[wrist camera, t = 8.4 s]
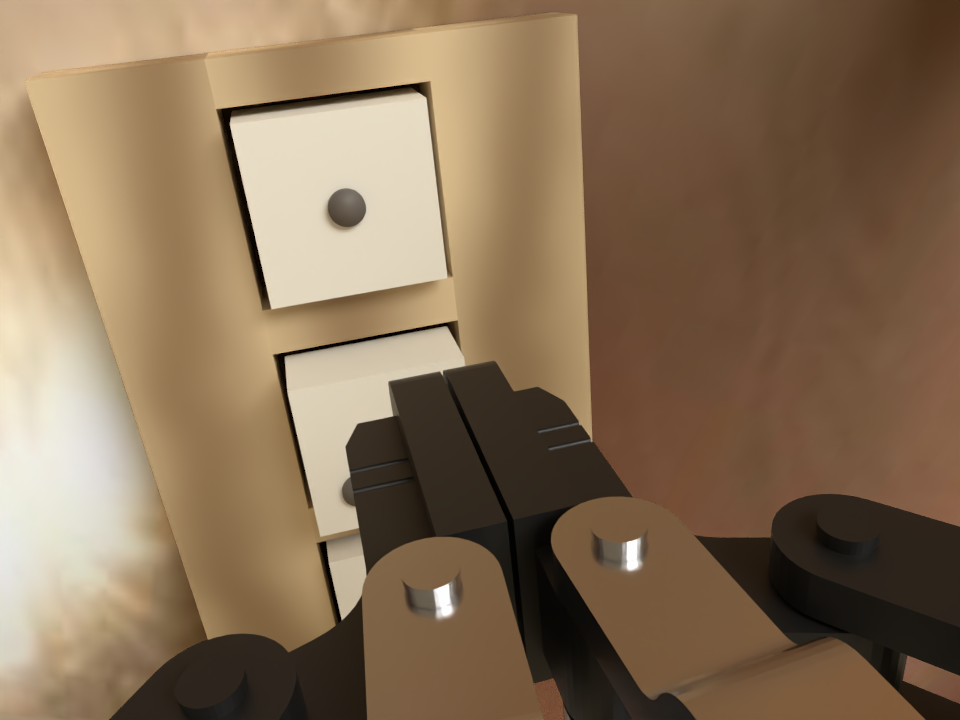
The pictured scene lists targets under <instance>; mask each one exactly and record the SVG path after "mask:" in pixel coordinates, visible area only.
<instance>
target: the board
mask: <svg viewBox="0 0 960 720" xmlns="http://www.w3.org/2000/svg"><path fill="white" fill-rule="evenodd" d="M24 83H25V86H26V90H27V93H28V96H29V99H30V102H31V105H32V108H33V111H34V114H35V117H36V120H37V123H38V126H39V129H40V132H41V135H42V138H43V141H44V144H45V147H46V150H47V153H48V156H49V159H50V162H51V165H52V168H53V171H54V174H55V177H56V180H57V184H58V187H59V190H60V193H61V196H62V199H63V202H64V205H65V208H66V211H67V214H68V217H69V220H70V223H71V226H72V229H73V232H74V235H75V238H76V241H77V244H78V247H79V250H80V253H81V256H82V259H83V262H84V265H85V268H86V271H87V274H88V278H89V281H90V284H91V287H92V290H93V293H94V296H95V299H96V302H97V305H98V308H99V311H100V314H101V317H102V320H103V323H104V326H105V329H106V332H107V335H108V338H109V341H110V344H111V347H112V350H113V353H114V356H115V359H116V362H117V365H118V368H119V372H120V375H121V378H122V381H123V384H124V387H125V390H126V393H127V396H128V399H129V402H130V405H131V408H132V411H133V414H134V417H135V420H136V423H137V426H138V429H139V432H140V435H141V438H142V441H143V444H144V447H145V450H146V453H147V456H148V459H149V463H150V466H151V469H152V472H153V475H154V478H155V481H156V484H157V487H158V490H159V493H160V496H161V499H162V502H163V505H164V508H165V511H166V514H167V517H168V520H169V523H170V526H171V529H172V532H173V535H174V538H175V541H176V544H177V547H178V550H179V553H180V557H181V560H182V563H183V566H184V569H185V572H186V575H187V578H188V581H189V584H190V587H191V590H192V593H193V596H194V599H195V602H196V605H197V608H198V611H199V614H200V617H201V620H202V623H203V626H204V629H205V632H206V635H207V638H208V640H209V639H212V638H215V637H219V636H224V635H229V634H241V633H244V634H256V635H261V636H265V637H268V638H270V639H272V640H275V641H276V642H278V643H279V644H281V645H282V646H283V647H284V648H285V649H286V650H287V651H288V652H290V651H292V650H294V649H296V648H298V647H300V646H302V645H304V644H306V643H308V642H310V641H312V640H314V639H315V638H317V637H319V636H321V635H322V634H324V633H326V632H327V631H329V630H330V629H332V628H333V627H334V626H336V625H337V624H338V623H339V622H338V618H337V613H336V609H335V604H334V600H333V596H332V591H331V587H330V583H329V578H328V574H327V569H326V565H325V561H324V556H323V552H322V548H321V543H320V542H323V541H327V540H331V539H336V538H340V537H344V536H349V535H353V534H358V533H360V531H359V528H357V529H352V530H348V531H344V532H339V533H335V534H331V535H326V536H322V537H320V533H319V529H318V524H317V520H316V516H315V511H314V507H313V502H312V498H311V494H310V489H309V485H308V480H307V476H305V473H304V469H303V465H302V460H301V456H300V451H299V447H298V443H297V438H296V434H295V430H294V425H293V421H292V416H291V412H290V408H289V403H288V399H287V395H286V390H285V386H284V381H283V377H282V373H281V368H280V364H279V360H278V355H277V354H279V353H285V352H290V351H295V350H301V349H306V348H311V347H317V346H322V345H327V344H333V343H338V342H344V341H349V340H354V339H360V338H365V337H370V336H376V335H381V334H386V333H392V332H397V331H402V330H408V329H413V328H419V327H424V326H429V325H435V324H440V323H445V322H447V323H448V329H449V331H450V333H451V335H452V336H453V338H454V340H455V342H456V344H457V346H458V347H459V349H460V351H461V353H462V355H463V356H464V360H465V366H468V365H473V364H478V363H483V362H488V361H495V362H496V363H497V364H498V366H499V368H500V369H501V371H502V373H503V374H504V376H505V378H506V379H507V381H508V383H509V384H510V386H511V388H512V389H513V391H519V390H524V389H529V388H534V387H540V388H542V389H543V390H545V391H547V392H549V393H551V394H553V395H555V396H556V397H558V398H560V399H562V400H564V401H565V402H566V404H567V405H568V407H569V408H570V409H571V411H572V412H573V414H574V415H575V416H576V418H577V419H578V421H579V425H582V426H583V428H584V429H585V431H586V432H587V433H588V435H589V436H590V438H591V442H592V419H591V391H590V363H589V335H588V307H587V279H586V251H585V223H584V195H583V167H582V139H581V111H580V83H579V55H578V27H577V15H574V14H565V13H556V12H550V13H542V14H534V15H525V16H517V17H508V18H500V19H491V20H483V21H474V22H466V23H458V24H449V25H441V26H432V27H424V28H415V29H407V30H398V31H390V32H382V33H373V34H365V35H356V36H348V37H339V38H331V39H323V40H314V41H306V42H297V43H289V44H280V45H272V46H263V47H255V48H247V49H238V50H230V51H221V52H213V53H204V54H196V55H188V56H179V57H171V58H162V59H154V60H145V61H137V62H128V63H120V64H112V65H103V66H95V67H86V68H78V69H69V70H61V71H53V72H44V73H41V74H39V75H36V76H34V77H32V78H30V79H27V80H25V81H24ZM412 83H418V84H419V92H420V94H421V95H423V96H424V97H426V99H427V108H428V116H429V125H430V133H431V142H432V150H433V159H434V167H435V176H436V184H437V193H438V201H439V210H440V218H441V227H442V235H443V244H444V252H445V261H446V269H447V278H446V279H440V280H434V281H429V282H423V283H417V284H412V285H406V286H400V287H395V288H389V289H383V290H378V291H372V292H366V293H361V294H355V295H350V296H344V297H338V298H333V299H327V300H321V301H316V302H310V303H304V304H299V305H293V306H287V307H282V308H276V309H271V305H270V301H269V296H268V292H267V287H262V285H261V281H260V276H259V272H258V268H257V263H256V259H255V255H254V250H253V246H252V241H251V237H250V233H249V228H248V224H247V220H246V215H245V211H244V206H243V202H242V198H241V193H240V189H239V185H238V180H237V176H236V171H235V167H234V163H233V158H232V154H231V150H230V145H229V141H228V136H227V132H226V128H225V123H224V119H223V115H222V110H221V108H229V107H237V106H244V105H252V104H260V103H267V102H275V101H283V100H290V99H298V98H306V97H313V96H321V95H328V94H336V93H344V92H351V91H359V90H367V89H374V88H382V87H390V86H397V85H405V84H412Z"/></svg>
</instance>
